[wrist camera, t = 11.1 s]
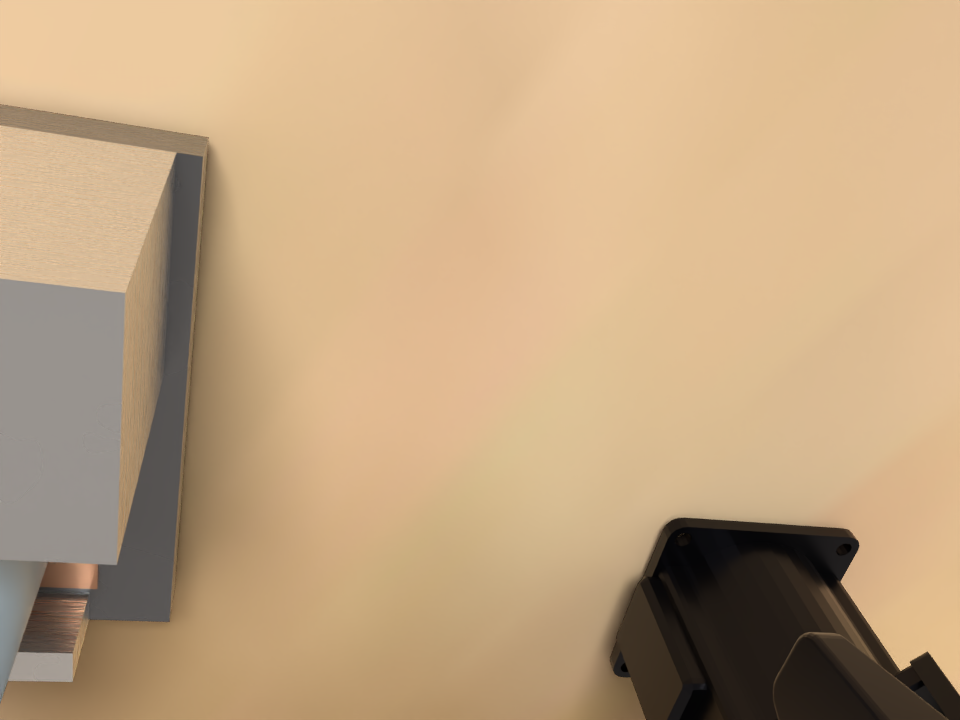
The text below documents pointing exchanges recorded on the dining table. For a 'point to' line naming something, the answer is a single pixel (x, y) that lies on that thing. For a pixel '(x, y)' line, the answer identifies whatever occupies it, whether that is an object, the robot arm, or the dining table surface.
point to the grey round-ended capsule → (16, 608)
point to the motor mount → (94, 368)
